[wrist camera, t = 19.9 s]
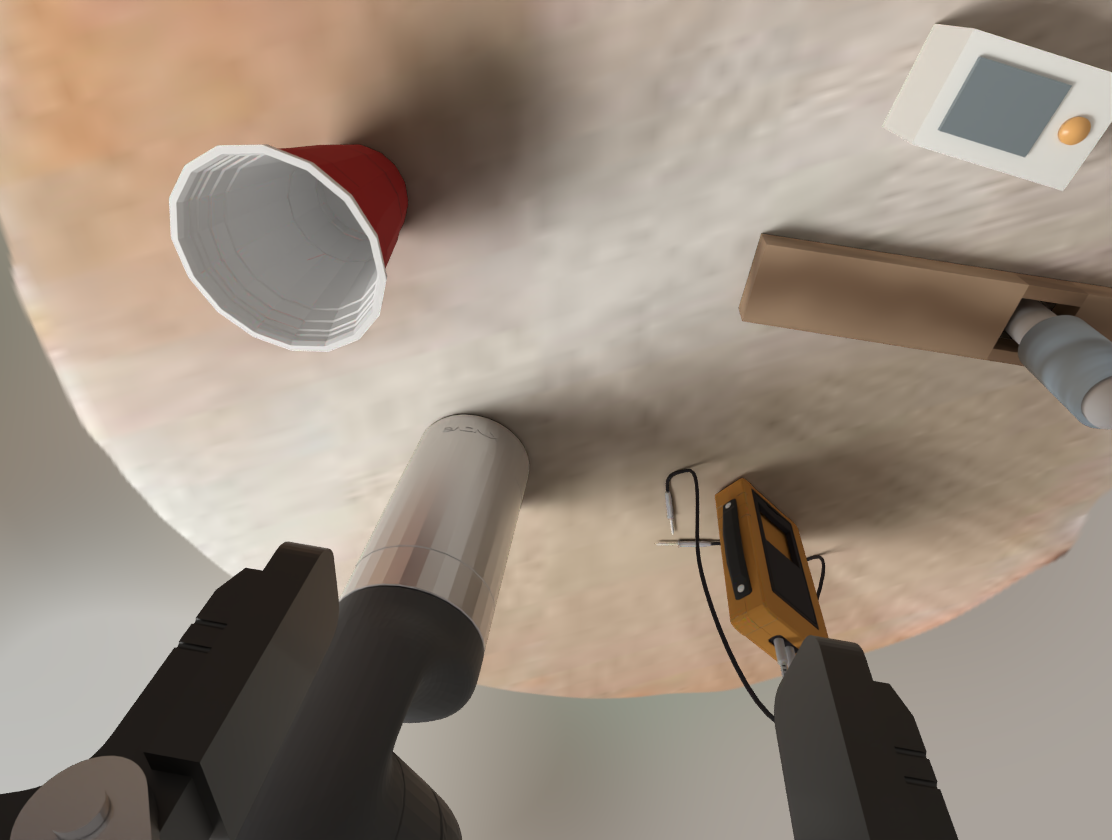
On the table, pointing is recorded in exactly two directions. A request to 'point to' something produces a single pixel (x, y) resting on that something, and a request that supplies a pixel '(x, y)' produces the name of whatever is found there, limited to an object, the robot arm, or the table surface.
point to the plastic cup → (290, 238)
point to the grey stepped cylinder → (1066, 360)
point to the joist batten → (904, 298)
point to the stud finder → (1002, 105)
